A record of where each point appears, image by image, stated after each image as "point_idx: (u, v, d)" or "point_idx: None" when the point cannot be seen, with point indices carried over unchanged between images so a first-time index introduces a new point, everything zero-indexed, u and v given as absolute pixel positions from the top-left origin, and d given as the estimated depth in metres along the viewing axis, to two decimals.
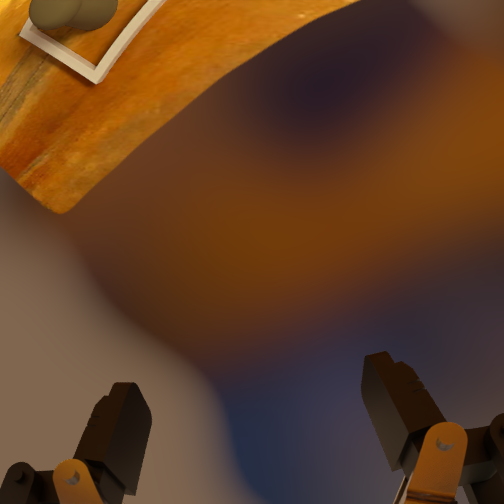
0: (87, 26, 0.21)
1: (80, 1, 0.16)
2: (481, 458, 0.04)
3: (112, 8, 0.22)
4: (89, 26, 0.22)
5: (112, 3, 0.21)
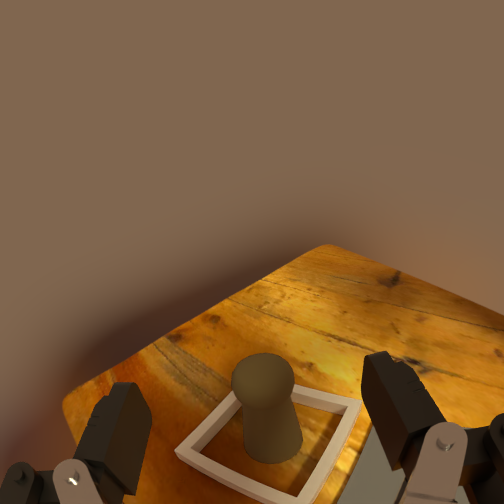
0: (244, 434, 0.25)
1: (262, 405, 0.21)
2: (481, 458, 0.04)
3: (268, 457, 0.24)
4: (244, 436, 0.25)
5: (275, 456, 0.24)
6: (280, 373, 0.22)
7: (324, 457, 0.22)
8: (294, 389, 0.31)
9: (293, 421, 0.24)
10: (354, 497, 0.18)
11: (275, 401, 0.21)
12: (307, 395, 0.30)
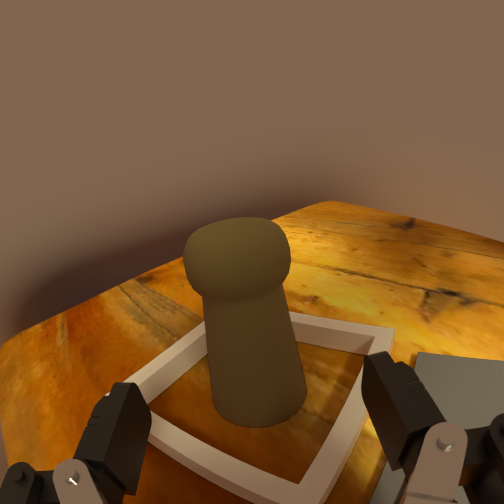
0: (210, 373, 0.17)
1: (231, 286, 0.13)
2: (481, 458, 0.04)
3: (249, 415, 0.15)
4: (211, 378, 0.17)
5: (261, 412, 0.15)
6: (263, 229, 0.13)
7: (346, 410, 0.13)
8: (292, 318, 0.23)
9: (291, 345, 0.15)
10: None
11: (256, 277, 0.13)
12: (312, 324, 0.21)
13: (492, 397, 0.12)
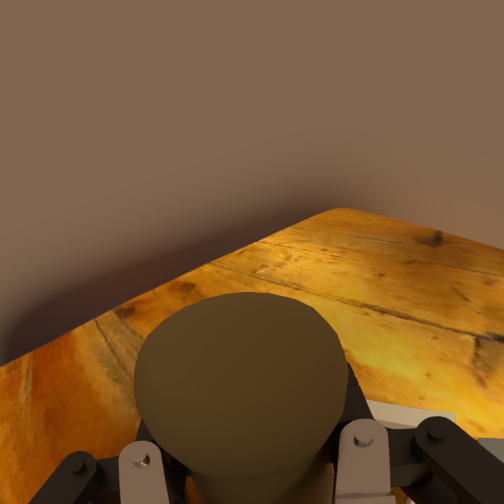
0: None
1: (233, 472, 0.05)
2: (406, 460, 0.05)
3: None
4: None
5: None
6: (303, 351, 0.06)
7: None
8: None
9: (327, 487, 0.08)
10: None
11: (285, 458, 0.05)
12: None
13: None
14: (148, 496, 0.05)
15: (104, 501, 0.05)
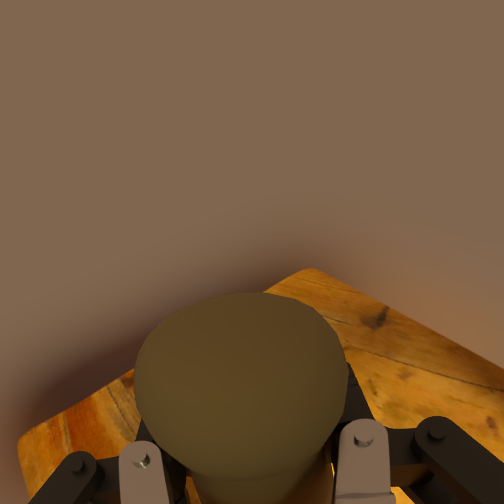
0: None
1: (232, 473, 0.05)
2: (406, 460, 0.05)
3: None
4: None
5: None
6: (303, 350, 0.06)
7: None
8: None
9: (328, 487, 0.08)
10: None
11: (285, 459, 0.05)
12: None
13: None
14: (148, 496, 0.05)
15: (104, 501, 0.05)
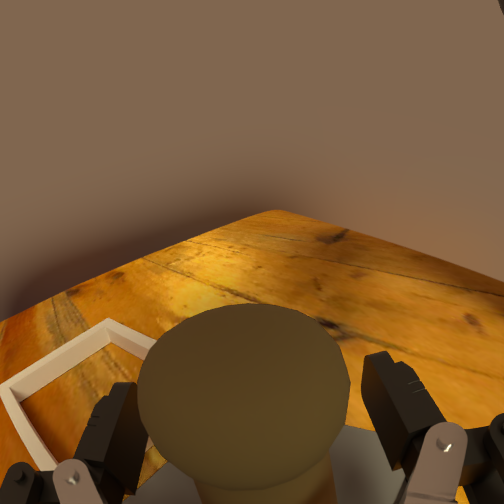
0: None
1: (236, 484, 0.05)
2: (481, 458, 0.04)
3: None
4: None
5: None
6: (306, 365, 0.06)
7: None
8: (138, 340, 0.23)
9: (329, 492, 0.07)
10: None
11: (288, 470, 0.05)
12: (148, 348, 0.22)
13: None
14: None
15: None
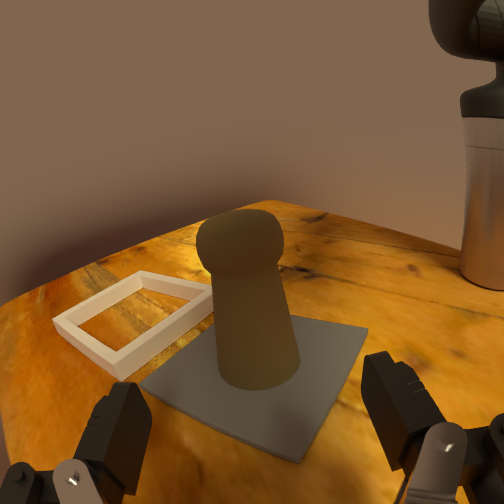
0: (217, 343, 0.20)
1: (236, 263, 0.16)
2: (481, 458, 0.04)
3: (251, 378, 0.18)
4: (217, 347, 0.20)
5: (260, 376, 0.18)
6: (261, 217, 0.17)
7: (159, 324, 0.26)
8: (166, 279, 0.35)
9: (285, 315, 0.19)
10: (174, 367, 0.22)
11: (256, 255, 0.16)
12: (175, 283, 0.34)
13: None
14: None
15: None
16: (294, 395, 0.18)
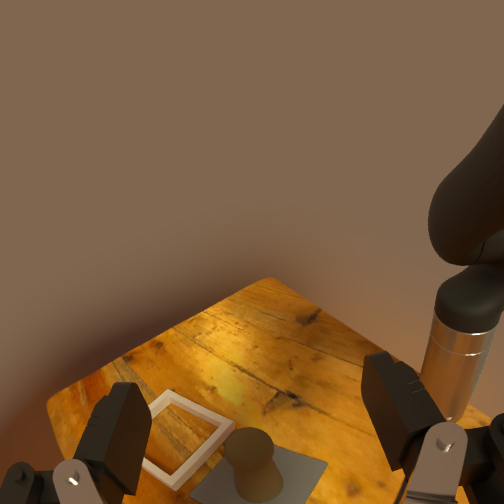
0: (235, 481, 0.28)
1: (247, 470, 0.24)
2: (481, 458, 0.04)
3: (254, 499, 0.27)
4: (235, 483, 0.28)
5: (260, 498, 0.27)
6: (261, 448, 0.25)
7: (194, 454, 0.34)
8: (191, 406, 0.43)
9: (274, 475, 0.27)
10: (209, 485, 0.30)
11: (258, 467, 0.24)
12: (198, 411, 0.42)
13: None
14: None
15: None
16: None
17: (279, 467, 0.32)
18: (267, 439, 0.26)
